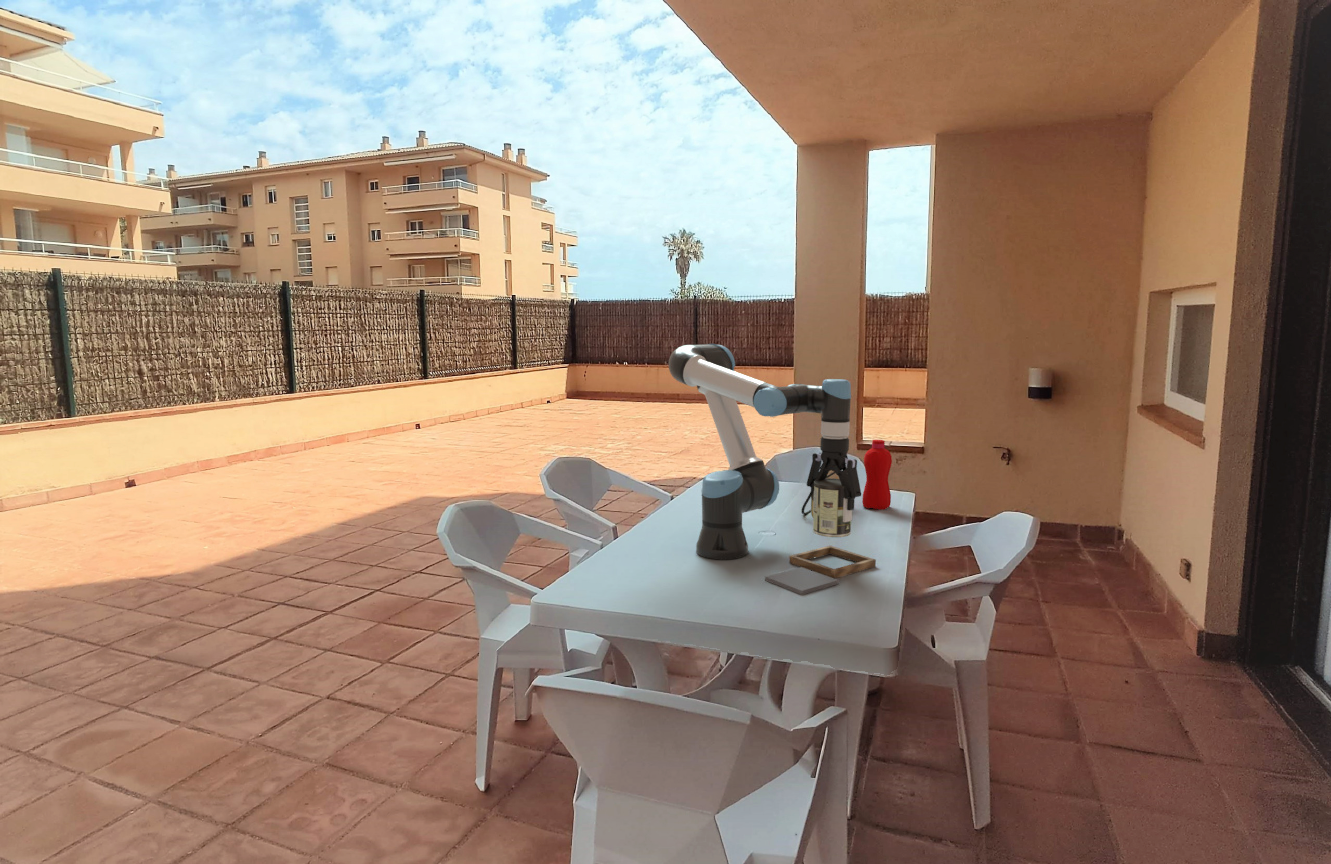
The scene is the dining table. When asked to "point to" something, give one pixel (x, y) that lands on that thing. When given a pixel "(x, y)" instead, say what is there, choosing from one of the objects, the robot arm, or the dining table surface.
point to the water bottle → (877, 476)
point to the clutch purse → (829, 476)
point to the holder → (833, 573)
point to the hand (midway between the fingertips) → (832, 517)
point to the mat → (801, 580)
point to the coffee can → (829, 509)
